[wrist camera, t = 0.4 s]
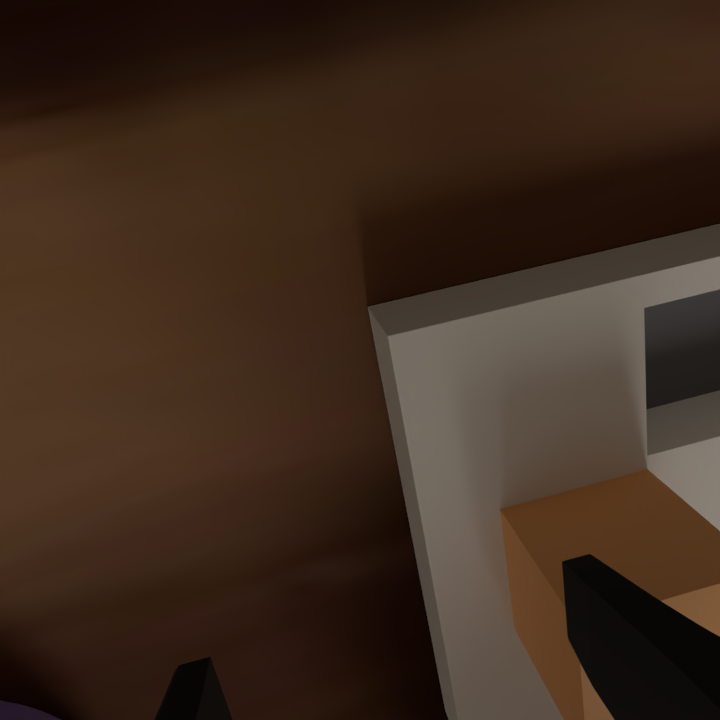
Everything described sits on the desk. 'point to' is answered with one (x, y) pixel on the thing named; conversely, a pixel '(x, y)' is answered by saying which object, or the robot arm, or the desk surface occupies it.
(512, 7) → the desk surface
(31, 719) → the tape roll
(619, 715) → the robot arm
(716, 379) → the box
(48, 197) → the desk surface
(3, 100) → the desk surface
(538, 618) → the orange block
